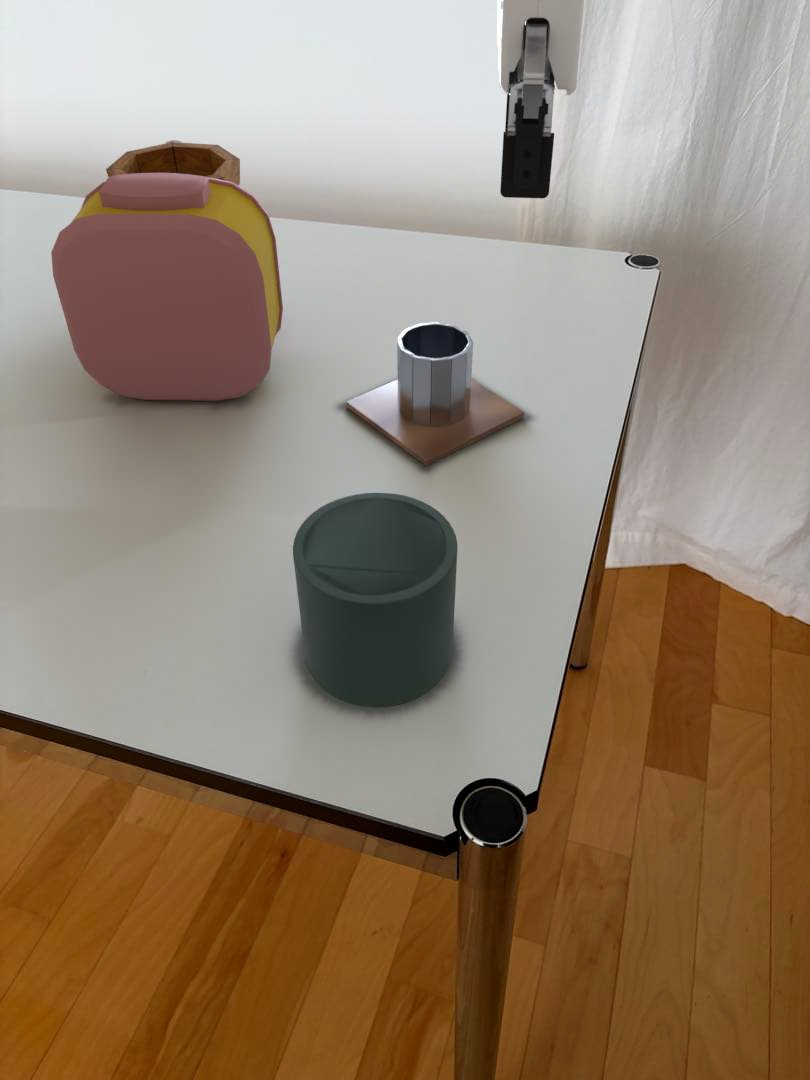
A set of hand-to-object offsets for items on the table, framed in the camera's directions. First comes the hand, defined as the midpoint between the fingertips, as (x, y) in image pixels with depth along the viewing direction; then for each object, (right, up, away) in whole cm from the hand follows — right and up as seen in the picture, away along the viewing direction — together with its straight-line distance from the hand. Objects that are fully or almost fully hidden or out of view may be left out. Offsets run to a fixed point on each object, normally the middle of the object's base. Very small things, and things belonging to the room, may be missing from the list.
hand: (525, 170), depth 63 cm
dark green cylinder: (-10, -34, 0) cm, 35 cm away
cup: (-6, -14, +21) cm, 26 cm away
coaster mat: (-6, -14, +22) cm, 26 cm away
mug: (-33, +3, +41) cm, 52 cm away
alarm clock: (-30, -10, +26) cm, 41 cm away
